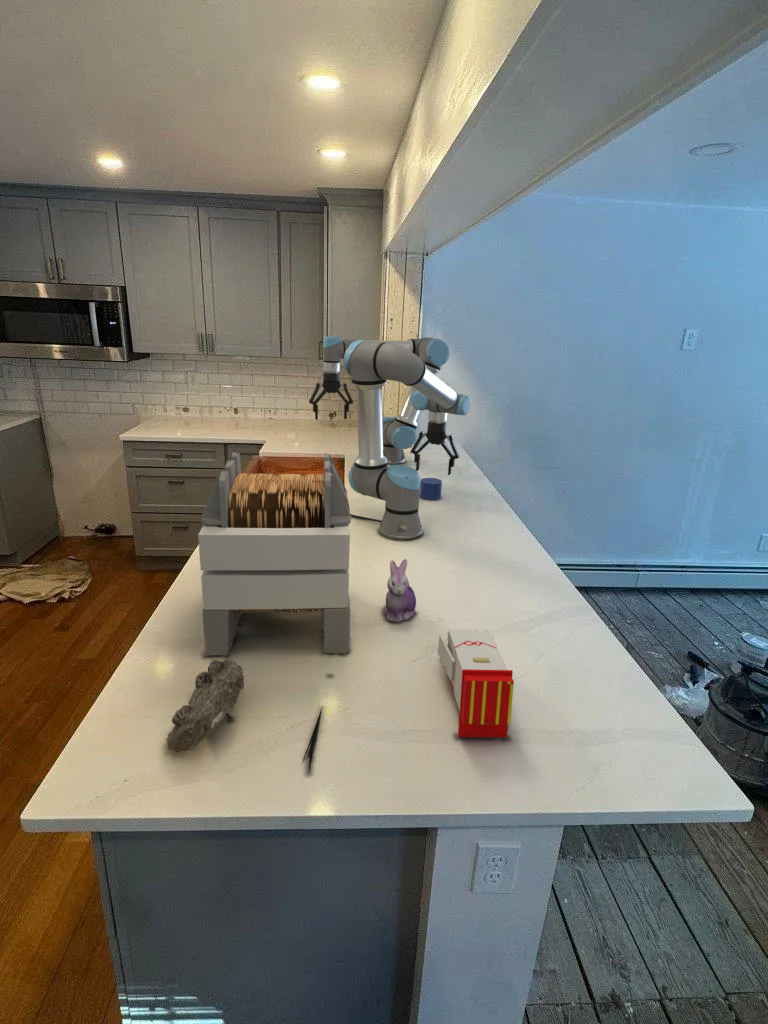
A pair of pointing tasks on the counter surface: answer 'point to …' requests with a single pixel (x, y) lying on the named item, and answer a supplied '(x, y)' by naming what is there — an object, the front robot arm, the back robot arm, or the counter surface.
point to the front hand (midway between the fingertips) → (433, 472)
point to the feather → (313, 740)
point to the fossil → (206, 705)
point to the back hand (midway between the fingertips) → (330, 418)
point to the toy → (478, 682)
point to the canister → (430, 489)
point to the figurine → (399, 594)
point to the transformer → (275, 551)
